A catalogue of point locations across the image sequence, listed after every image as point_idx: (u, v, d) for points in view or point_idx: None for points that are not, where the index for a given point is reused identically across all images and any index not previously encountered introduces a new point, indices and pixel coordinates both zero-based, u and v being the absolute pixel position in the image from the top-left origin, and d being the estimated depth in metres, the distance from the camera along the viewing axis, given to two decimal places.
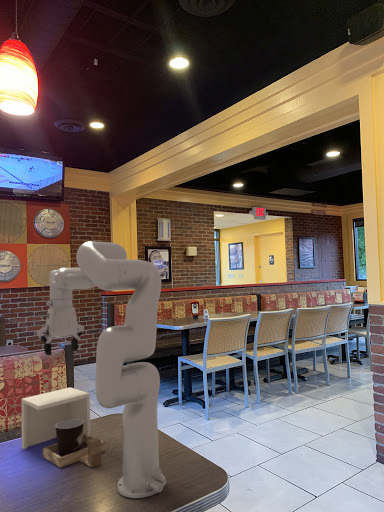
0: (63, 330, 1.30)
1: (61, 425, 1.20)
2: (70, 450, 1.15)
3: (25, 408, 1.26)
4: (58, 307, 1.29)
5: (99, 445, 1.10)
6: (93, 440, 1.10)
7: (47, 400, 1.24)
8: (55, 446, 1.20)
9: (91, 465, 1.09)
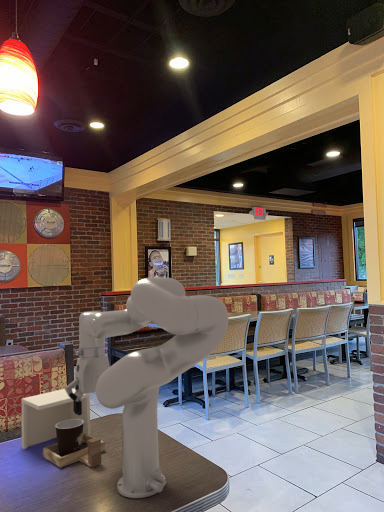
0: (95, 384, 1.10)
1: (61, 425, 1.20)
2: (70, 450, 1.15)
3: (25, 408, 1.26)
4: (90, 358, 1.09)
5: (99, 445, 1.10)
6: (93, 440, 1.10)
7: (47, 400, 1.24)
8: (55, 446, 1.20)
9: (91, 465, 1.09)
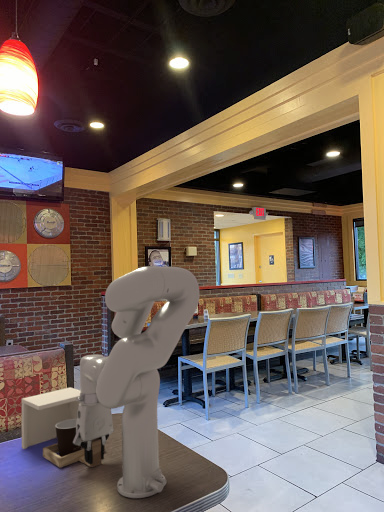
0: (97, 430, 1.09)
1: (61, 425, 1.20)
2: (70, 450, 1.15)
3: (25, 408, 1.26)
4: (91, 404, 1.08)
5: (99, 445, 1.10)
6: (93, 440, 1.10)
7: (47, 400, 1.24)
8: (55, 446, 1.20)
9: (91, 465, 1.09)
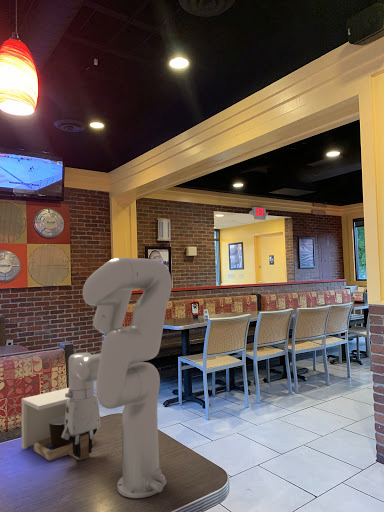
0: (85, 425, 1.14)
1: (55, 421, 1.24)
2: (62, 445, 1.18)
3: (25, 408, 1.26)
4: (79, 400, 1.13)
5: (87, 439, 1.15)
6: (81, 434, 1.15)
7: (47, 400, 1.24)
8: (45, 440, 1.25)
9: (79, 458, 1.14)
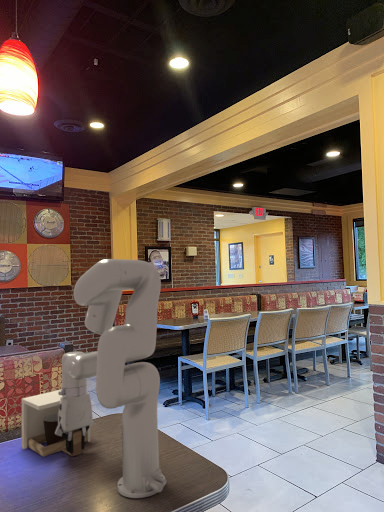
0: (77, 422, 1.17)
1: (50, 418, 1.28)
2: (55, 442, 1.22)
3: (25, 408, 1.26)
4: (71, 397, 1.16)
5: (80, 436, 1.19)
6: (74, 431, 1.18)
7: (47, 400, 1.24)
8: (40, 437, 1.28)
9: (72, 454, 1.17)
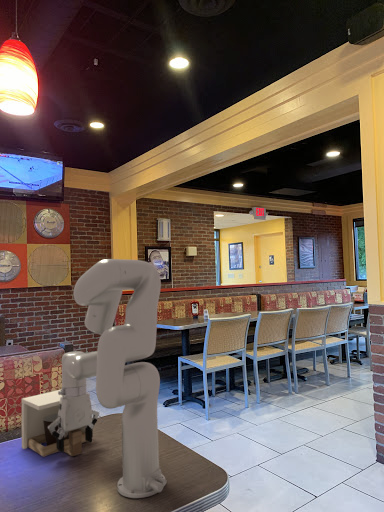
0: (77, 422, 1.17)
1: (50, 418, 1.28)
2: (55, 442, 1.22)
3: (25, 408, 1.26)
4: (71, 397, 1.16)
5: (80, 436, 1.19)
6: (74, 431, 1.18)
7: (47, 400, 1.24)
8: (40, 437, 1.28)
9: (72, 454, 1.17)
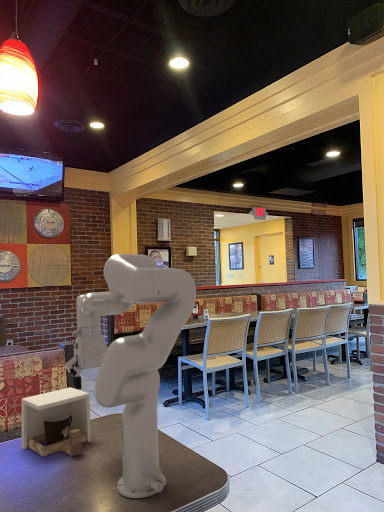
0: (93, 360, 1.18)
1: (50, 418, 1.28)
2: (55, 442, 1.22)
3: (25, 408, 1.26)
4: (87, 336, 1.18)
5: (80, 436, 1.19)
6: (74, 431, 1.18)
7: (47, 400, 1.24)
8: (40, 437, 1.28)
9: (72, 454, 1.17)
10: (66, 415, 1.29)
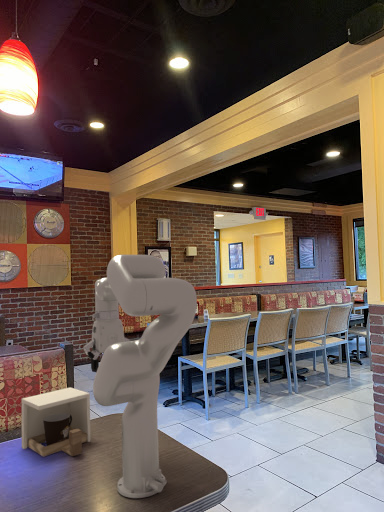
0: (111, 344, 1.19)
1: (50, 418, 1.28)
2: (55, 442, 1.22)
3: (25, 408, 1.26)
4: (105, 320, 1.19)
5: (80, 436, 1.19)
6: (74, 431, 1.18)
7: (47, 400, 1.24)
8: (40, 437, 1.28)
9: (72, 454, 1.17)
10: (66, 415, 1.29)
